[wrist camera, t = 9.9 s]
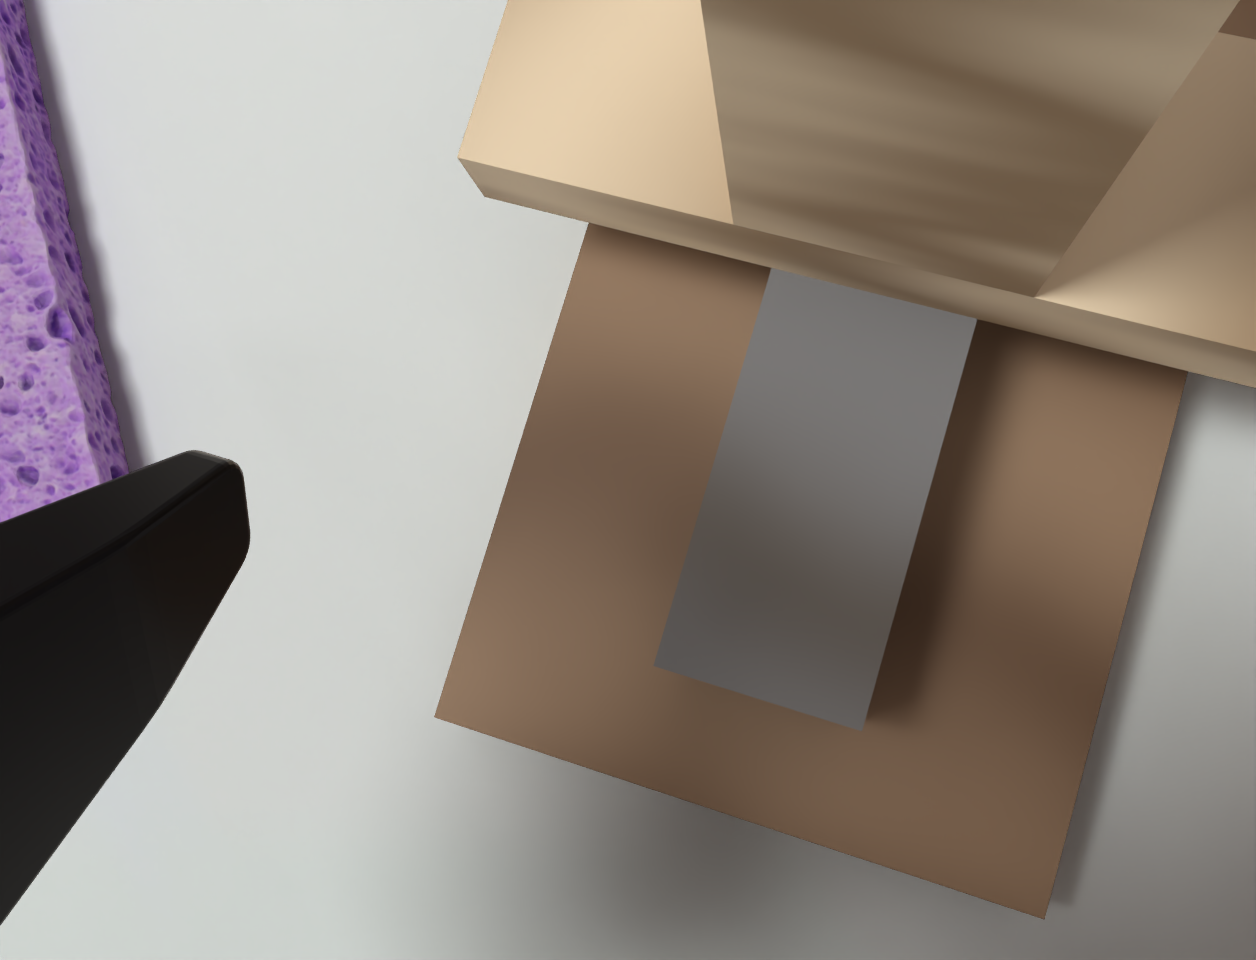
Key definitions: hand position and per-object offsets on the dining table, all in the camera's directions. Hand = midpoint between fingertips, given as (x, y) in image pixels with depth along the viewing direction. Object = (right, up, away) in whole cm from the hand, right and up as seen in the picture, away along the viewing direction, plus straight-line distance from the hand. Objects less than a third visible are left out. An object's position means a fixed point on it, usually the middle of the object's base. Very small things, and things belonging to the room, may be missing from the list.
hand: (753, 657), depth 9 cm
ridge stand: (+4, +5, +12) cm, 14 cm away
